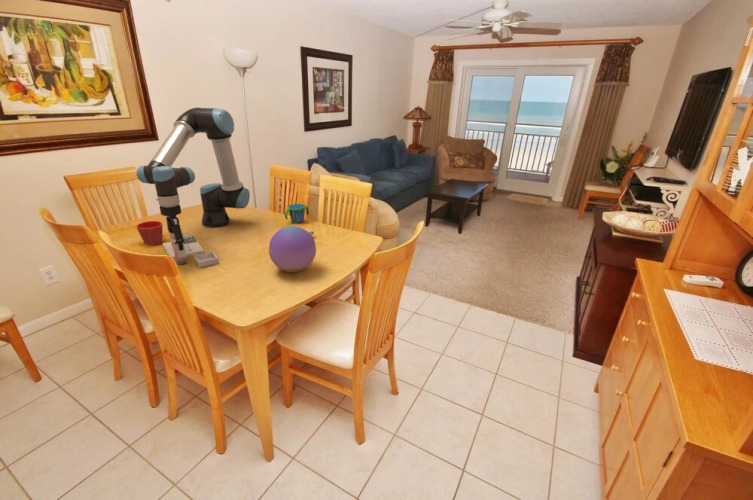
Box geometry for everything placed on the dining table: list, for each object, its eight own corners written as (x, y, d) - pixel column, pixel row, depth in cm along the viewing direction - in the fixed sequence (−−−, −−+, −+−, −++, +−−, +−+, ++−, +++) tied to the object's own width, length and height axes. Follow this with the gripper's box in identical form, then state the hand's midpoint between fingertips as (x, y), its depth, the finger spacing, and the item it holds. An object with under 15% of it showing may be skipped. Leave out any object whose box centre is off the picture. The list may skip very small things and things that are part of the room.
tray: (213, 257, 159) (212, 251, 158) (218, 263, 154) (217, 257, 152) (195, 261, 155) (193, 255, 153) (199, 268, 149) (198, 262, 148)
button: (191, 235, 175) (190, 232, 175) (193, 238, 172) (193, 235, 171) (180, 237, 172) (179, 234, 172) (182, 241, 169) (182, 237, 168)
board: (193, 239, 178) (192, 235, 177) (204, 252, 164) (203, 247, 163) (163, 245, 169) (161, 240, 168) (171, 259, 155) (170, 254, 154)
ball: (274, 283, 140) (270, 238, 132) (267, 263, 156) (263, 222, 148) (321, 276, 147) (320, 233, 139) (310, 257, 164) (309, 218, 156)
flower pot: (154, 247, 167) (150, 229, 163) (135, 245, 169) (130, 226, 165) (170, 239, 176) (167, 222, 173) (152, 237, 178) (148, 219, 174)
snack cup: (289, 226, 202) (288, 210, 198) (282, 221, 209) (280, 205, 205) (312, 222, 211) (312, 206, 206) (305, 217, 218) (304, 202, 214)
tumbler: (185, 260, 156) (180, 235, 151) (187, 263, 153) (182, 238, 148) (175, 262, 153) (170, 237, 148) (177, 265, 150) (172, 240, 146)
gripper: (154, 199, 149) (163, 244, 157) (165, 213, 131) (175, 263, 139) (173, 197, 153) (181, 241, 161) (186, 210, 136) (195, 259, 144)
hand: (178, 251), depth 150 cm, fingers open, 13 cm apart
